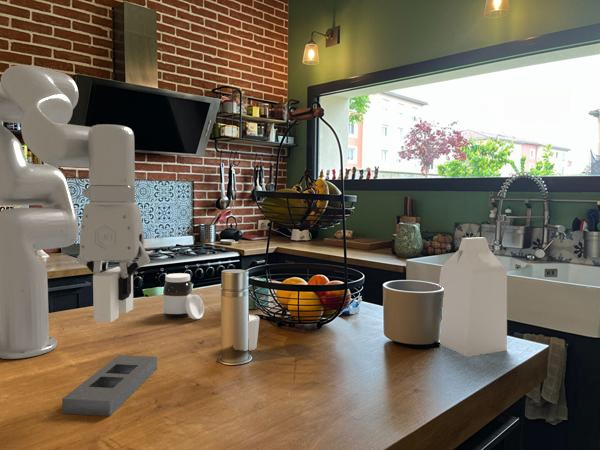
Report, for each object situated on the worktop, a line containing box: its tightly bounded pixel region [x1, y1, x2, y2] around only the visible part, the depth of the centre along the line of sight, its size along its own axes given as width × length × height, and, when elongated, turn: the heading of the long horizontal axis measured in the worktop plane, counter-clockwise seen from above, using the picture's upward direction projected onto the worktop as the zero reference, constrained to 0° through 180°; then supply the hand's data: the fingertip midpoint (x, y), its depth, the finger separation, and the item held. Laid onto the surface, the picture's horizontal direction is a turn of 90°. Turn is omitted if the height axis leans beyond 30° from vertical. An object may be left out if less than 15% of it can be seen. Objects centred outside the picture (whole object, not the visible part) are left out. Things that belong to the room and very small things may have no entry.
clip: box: [92, 266, 134, 323], centre depth 86 cm, size 3×9×8 cm, turn 176°
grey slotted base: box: [61, 354, 158, 417], centre depth 87 cm, size 8×20×2 cm, turn 175°
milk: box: [438, 236, 508, 358], centre depth 113 cm, size 12×12×26 cm
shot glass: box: [248, 313, 260, 352], centre depth 110 cm, size 7×7×7 cm
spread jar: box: [162, 272, 205, 321], centre depth 134 cm, size 12×11×12 cm
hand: (114, 297), depth 86 cm, fingers closed on clip, 3 cm apart
